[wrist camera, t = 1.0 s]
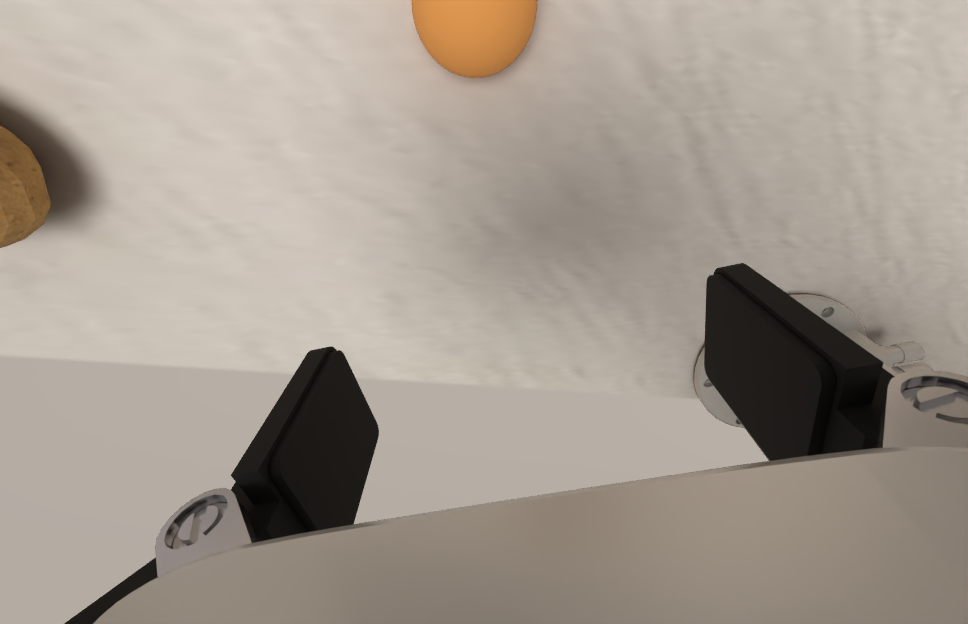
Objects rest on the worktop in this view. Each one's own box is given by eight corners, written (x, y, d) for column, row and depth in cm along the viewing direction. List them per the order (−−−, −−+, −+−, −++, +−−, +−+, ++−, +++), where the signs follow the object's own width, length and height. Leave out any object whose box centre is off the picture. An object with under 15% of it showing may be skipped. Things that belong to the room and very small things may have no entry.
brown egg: (519, -73, 21) (530, -122, 16) (538, 62, 24) (554, 58, 19) (405, -38, 22) (381, -74, 17) (438, 89, 25) (425, 92, 19)
